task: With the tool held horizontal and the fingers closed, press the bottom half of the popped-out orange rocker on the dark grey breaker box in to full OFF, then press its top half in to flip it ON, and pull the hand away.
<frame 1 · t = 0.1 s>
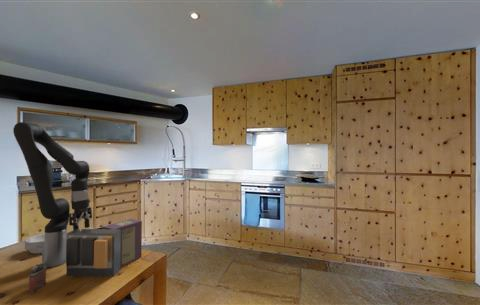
hand: (81, 230, 124), 17 cm above the table, tool pointing down, fingers open, 8 cm apart
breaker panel: (94, 273, 114), on the table
box: (122, 261, 127), on the table
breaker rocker: (101, 253, 108), point 12 cm above the table, hinge at 0.0°
paper bowls: (42, 251, 139), on the table
lighter: (37, 288, 101), on the table
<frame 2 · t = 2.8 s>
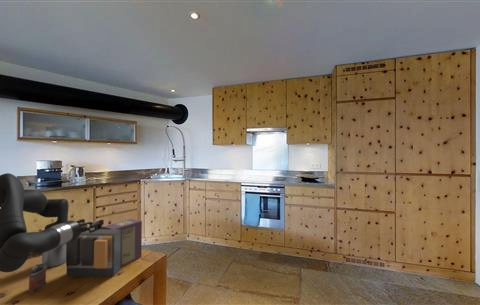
hand: (93, 221, 101), 28 cm above the table, tool horizontal, fingers open, 8 cm apart
nothing on the table moved.
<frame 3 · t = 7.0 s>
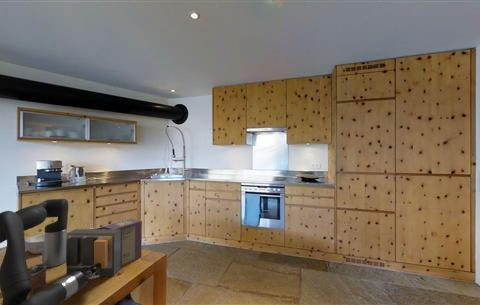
hand: (99, 265, 106), 7 cm above the table, tool horizontal, fingers closed
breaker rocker: (101, 253, 108), point 12 cm above the table, hinge at 1.7°, touching gripper
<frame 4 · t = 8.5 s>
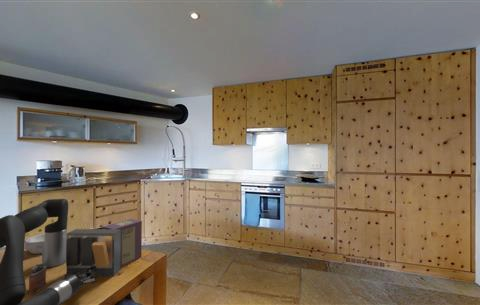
hand: (94, 268, 103), 8 cm above the table, tool horizontal, fingers closed
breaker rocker: (101, 254, 108), point 12 cm above the table, hinge at 18.7°
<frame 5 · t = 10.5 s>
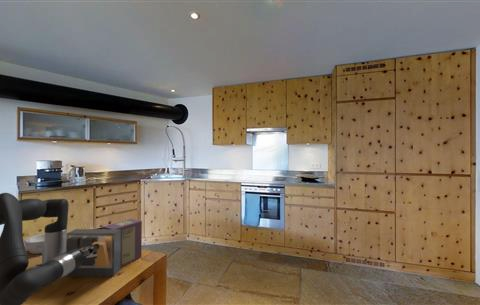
hand: (97, 245, 105), 17 cm above the table, tool horizontal, fingers closed
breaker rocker: (101, 254, 108), point 12 cm above the table, hinge at 17.8°, touching gripper
everything else where it was.
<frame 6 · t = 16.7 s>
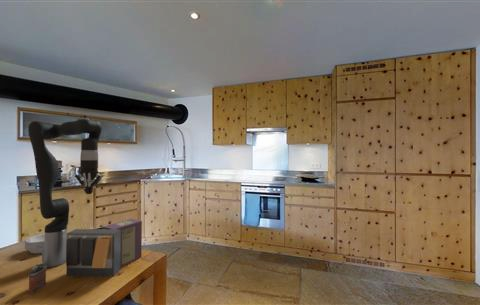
hand: (89, 193, 119), 37 cm above the table, tool pointing down, fingers closed
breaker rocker: (101, 252, 108), point 12 cm above the table, hinge at -18.6°
everything else where it was.
at the end: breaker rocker at -19° (first picture: +0°) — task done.
